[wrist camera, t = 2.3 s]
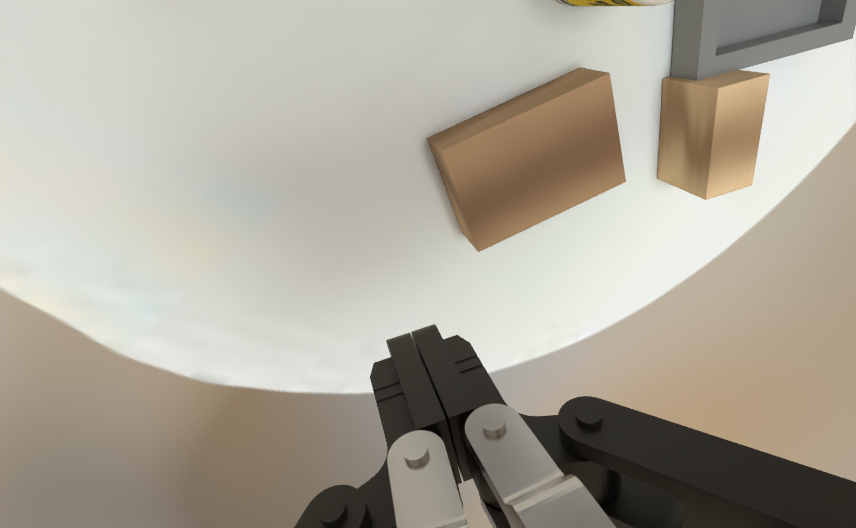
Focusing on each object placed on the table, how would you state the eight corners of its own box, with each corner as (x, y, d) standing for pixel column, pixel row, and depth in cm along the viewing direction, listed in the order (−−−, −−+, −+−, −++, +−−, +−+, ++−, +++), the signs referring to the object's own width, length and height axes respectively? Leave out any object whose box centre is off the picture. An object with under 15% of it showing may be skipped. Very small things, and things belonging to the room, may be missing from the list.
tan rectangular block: (662, 78, 27) (718, 88, 24) (709, 66, 27) (770, 73, 24) (657, 178, 30) (705, 199, 27) (698, 165, 30) (752, 185, 27)
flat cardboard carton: (425, 136, 25) (441, 150, 23) (576, 66, 26) (609, 72, 23) (460, 230, 28) (478, 252, 26) (595, 166, 29) (625, 181, 26)
